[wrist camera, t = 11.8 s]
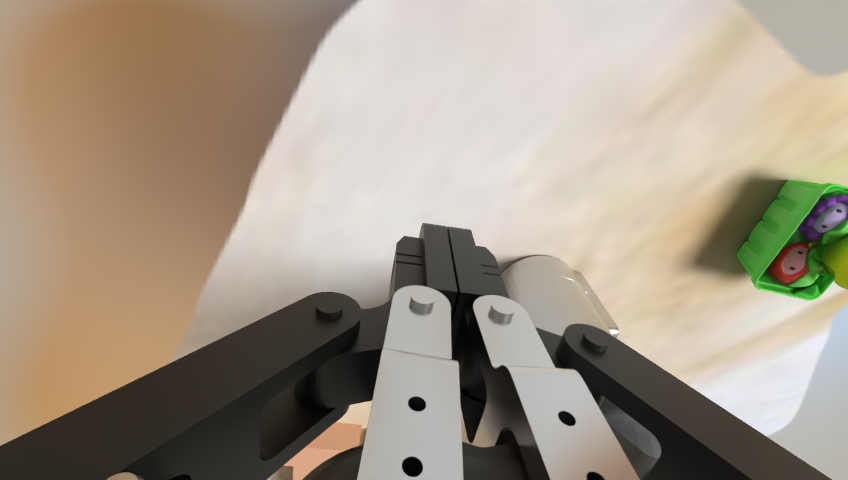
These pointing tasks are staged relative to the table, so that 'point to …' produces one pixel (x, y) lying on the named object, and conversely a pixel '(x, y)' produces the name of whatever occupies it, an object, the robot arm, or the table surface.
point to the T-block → (325, 448)
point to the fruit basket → (800, 241)
